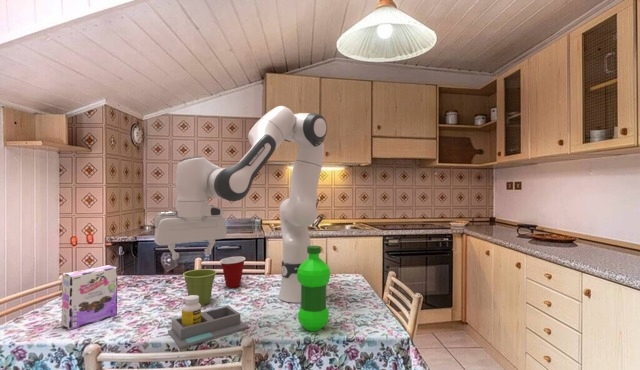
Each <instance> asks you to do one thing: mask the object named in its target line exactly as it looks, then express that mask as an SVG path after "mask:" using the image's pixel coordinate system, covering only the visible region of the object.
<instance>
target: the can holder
mask: <svg viewBox="0 0 640 370" xmlns="http://www.w3.org/2000/svg"><path fill="white" fill-rule="evenodd" d="M170 321H171V322H170V323H171V326H170V327H171V329H167V333H168V334H169V336H170V337H171V338H172V339H173V341H174V342H175V344H176V345H177V346H178V347H179V348H180V349H184V348H187V347H191V346H194V345H198V344H200V343H201V344H202V343H204V342H208V341H211V340H214V339H218V338H220V337H224V336H227V335H228V336H229V335H230V334H234V333H237V332H240V331H245V330H246V329H247V330H249V327H250V326H249V325H248V324H246V323H244V322H243V321H242V320H241V313H240V312H238V311H237V310H235V309H234V308H232V307H231V306H230V305H226V306H221V307H217V308H212V309H209V310H204V311H201V323H199V324H195V325H191V326H187V327H182V316H180V317H179V316H178V317H175V318H172V319H171V320H170Z"/></svg>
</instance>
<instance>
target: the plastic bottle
mask: <svg viewBox="0 0 640 370" xmlns="http://www.w3.org/2000/svg"><path fill="white" fill-rule="evenodd" d="M307 253H309V258H308V259H307V260H305V261H304V262H303V263H302V264H301V265H300V266H299V269H298V271H297V279H298V281H299V283H300V284H301V303H300V305H301V306H300V308H299V311H298V314H297V320H298V322H299V324H300V325H301V326H303V328H304V329H305V328H306V329H305V330H306V331H309V330H310V332H317V331H316V330H318V331H320V330H322V329H321V328H324V327H326V325H327V324H328V322H329V321H330V320H329V319H330V318H329V317H330V311H329V308H328V306H327V297H326V284H327V285H328V284H329V282H330V278H331V268H330V266H329V265H328V264H327V263H326V262H325V260H323V259H321V258H320V254H322V251H321V245H311V246H308V247H307ZM319 329H320V330H319Z"/></svg>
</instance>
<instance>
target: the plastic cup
mask: <svg viewBox="0 0 640 370" xmlns="http://www.w3.org/2000/svg"><path fill="white" fill-rule="evenodd" d="M245 260H246V257H244V256H230V257H225V258H221V259H220V260H219V263H220V264H221V267H222V272H223V278H224V281H225V286H226V288H227V289H236V288H240V286H241V283H242V277H243V270H244V264H245Z"/></svg>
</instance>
